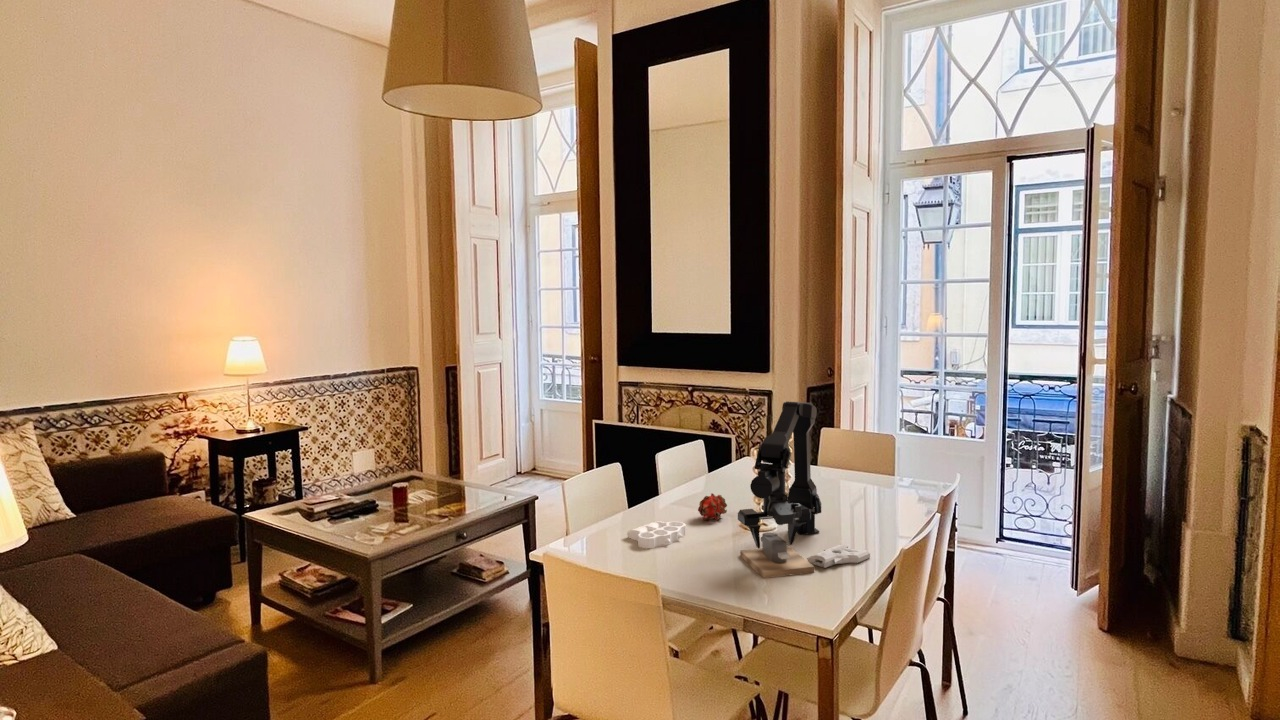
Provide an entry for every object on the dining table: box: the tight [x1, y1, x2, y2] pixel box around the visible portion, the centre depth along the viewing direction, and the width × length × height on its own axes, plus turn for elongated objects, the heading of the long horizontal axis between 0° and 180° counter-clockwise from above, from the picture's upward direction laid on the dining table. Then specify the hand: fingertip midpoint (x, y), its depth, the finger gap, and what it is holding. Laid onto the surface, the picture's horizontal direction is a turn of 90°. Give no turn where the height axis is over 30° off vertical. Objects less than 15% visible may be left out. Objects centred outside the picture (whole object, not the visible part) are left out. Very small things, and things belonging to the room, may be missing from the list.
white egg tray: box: [626, 520, 687, 549], centre depth 207 cm, size 3×18×15 cm
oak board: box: [739, 545, 815, 579], centre depth 186 cm, size 16×14×2 cm
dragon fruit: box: [697, 493, 728, 521], centre depth 225 cm, size 8×8×12 cm
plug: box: [760, 531, 790, 564], centre depth 186 cm, size 14×4×5 cm, turn 13°
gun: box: [806, 544, 871, 569], centre depth 187 cm, size 18×3×10 cm
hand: (774, 546), depth 186 cm, fingers open, 9 cm apart
